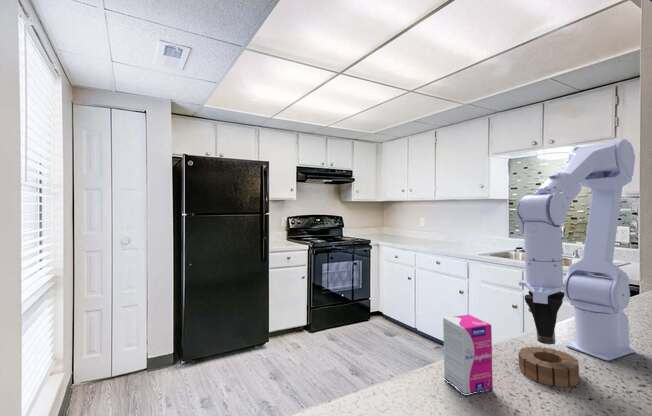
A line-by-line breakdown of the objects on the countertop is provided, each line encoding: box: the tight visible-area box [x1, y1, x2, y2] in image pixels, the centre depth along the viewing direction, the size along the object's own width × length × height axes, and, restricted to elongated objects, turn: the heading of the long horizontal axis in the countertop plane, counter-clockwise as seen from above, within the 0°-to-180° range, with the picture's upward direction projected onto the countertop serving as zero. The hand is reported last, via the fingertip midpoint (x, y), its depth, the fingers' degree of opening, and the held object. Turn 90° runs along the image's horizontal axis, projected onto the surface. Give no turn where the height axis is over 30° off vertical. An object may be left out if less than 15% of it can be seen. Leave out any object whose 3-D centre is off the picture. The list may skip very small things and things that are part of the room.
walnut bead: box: [518, 346, 580, 388], centre depth 60 cm, size 9×9×3 cm
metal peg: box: [535, 327, 556, 345], centre depth 60 cm, size 3×3×6 cm
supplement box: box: [442, 314, 494, 394], centre depth 57 cm, size 6×6×12 cm
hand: (546, 333), depth 60 cm, fingers closed on metal peg, 3 cm apart
